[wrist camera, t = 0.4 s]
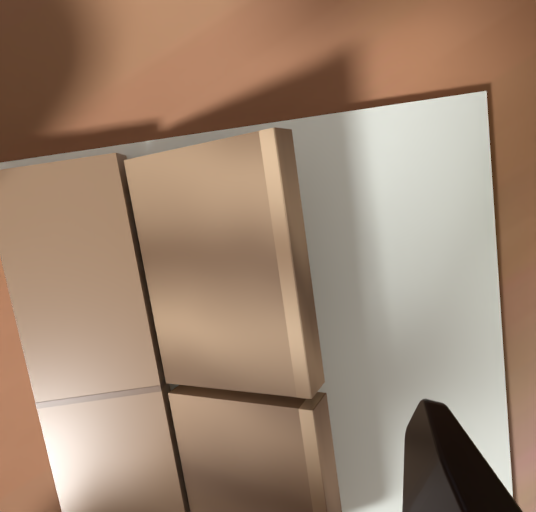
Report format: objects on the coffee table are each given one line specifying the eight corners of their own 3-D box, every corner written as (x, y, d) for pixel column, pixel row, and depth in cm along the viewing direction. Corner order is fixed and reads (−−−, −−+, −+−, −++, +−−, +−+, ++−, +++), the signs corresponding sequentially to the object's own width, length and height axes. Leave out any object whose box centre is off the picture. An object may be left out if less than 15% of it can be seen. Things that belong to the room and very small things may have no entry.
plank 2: (354, 603, 20) (344, 635, 19) (220, 559, 24) (203, 583, 23) (326, 392, 19) (313, 410, 18) (187, 379, 22) (167, 393, 21)
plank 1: (324, 381, 19) (311, 399, 17) (185, 369, 22) (165, 383, 21) (291, 129, 17) (274, 127, 16) (147, 159, 21) (123, 160, 19)
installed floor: (508, 521, 24) (531, 553, 22) (100, 577, 25) (85, 613, 23) (480, 93, 21) (504, 83, 19) (5, 163, 21) (-24, 160, 19)
